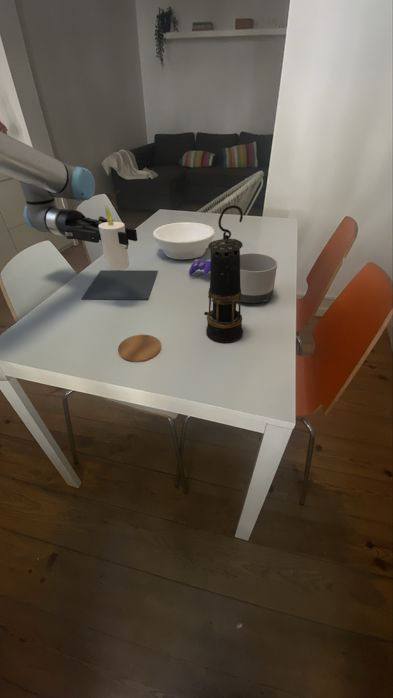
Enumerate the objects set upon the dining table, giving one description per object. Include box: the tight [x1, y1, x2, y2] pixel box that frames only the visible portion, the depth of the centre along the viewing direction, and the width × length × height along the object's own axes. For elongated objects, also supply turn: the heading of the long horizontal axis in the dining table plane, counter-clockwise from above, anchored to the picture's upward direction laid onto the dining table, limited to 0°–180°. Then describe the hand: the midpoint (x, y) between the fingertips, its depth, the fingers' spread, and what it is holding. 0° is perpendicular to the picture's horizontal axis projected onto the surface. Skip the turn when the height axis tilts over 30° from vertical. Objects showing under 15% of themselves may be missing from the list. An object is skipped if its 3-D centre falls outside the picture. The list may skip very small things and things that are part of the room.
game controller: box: [187, 258, 211, 280], centre depth 103 cm, size 10×8×10 cm
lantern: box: [203, 204, 244, 344], centre depth 70 cm, size 9×9×30 cm
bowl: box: [152, 221, 216, 260], centre depth 118 cm, size 22×22×8 cm
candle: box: [99, 205, 130, 271], centre depth 80 cm, size 6×6×15 cm
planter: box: [240, 252, 278, 304], centre depth 90 cm, size 13×13×10 cm
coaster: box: [117, 334, 162, 363], centre depth 75 cm, size 10×10×1 cm
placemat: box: [80, 269, 159, 301], centre depth 101 cm, size 20×20×1 cm
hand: (131, 237), depth 78 cm, fingers closed on candle, 2 cm apart
